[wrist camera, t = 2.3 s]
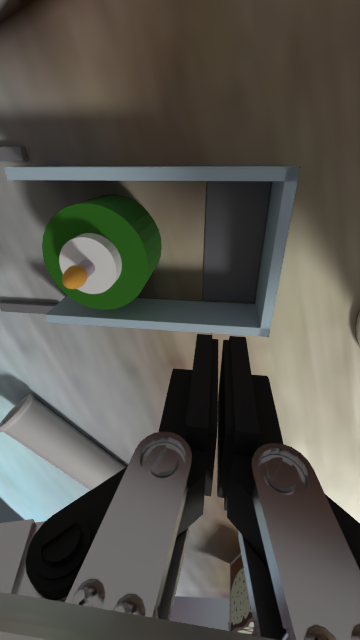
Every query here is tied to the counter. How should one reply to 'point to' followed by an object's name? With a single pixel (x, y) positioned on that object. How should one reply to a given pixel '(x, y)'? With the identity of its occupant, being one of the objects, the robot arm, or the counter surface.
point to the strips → (14, 306)
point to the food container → (239, 600)
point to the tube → (59, 443)
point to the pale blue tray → (220, 248)
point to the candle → (102, 251)
